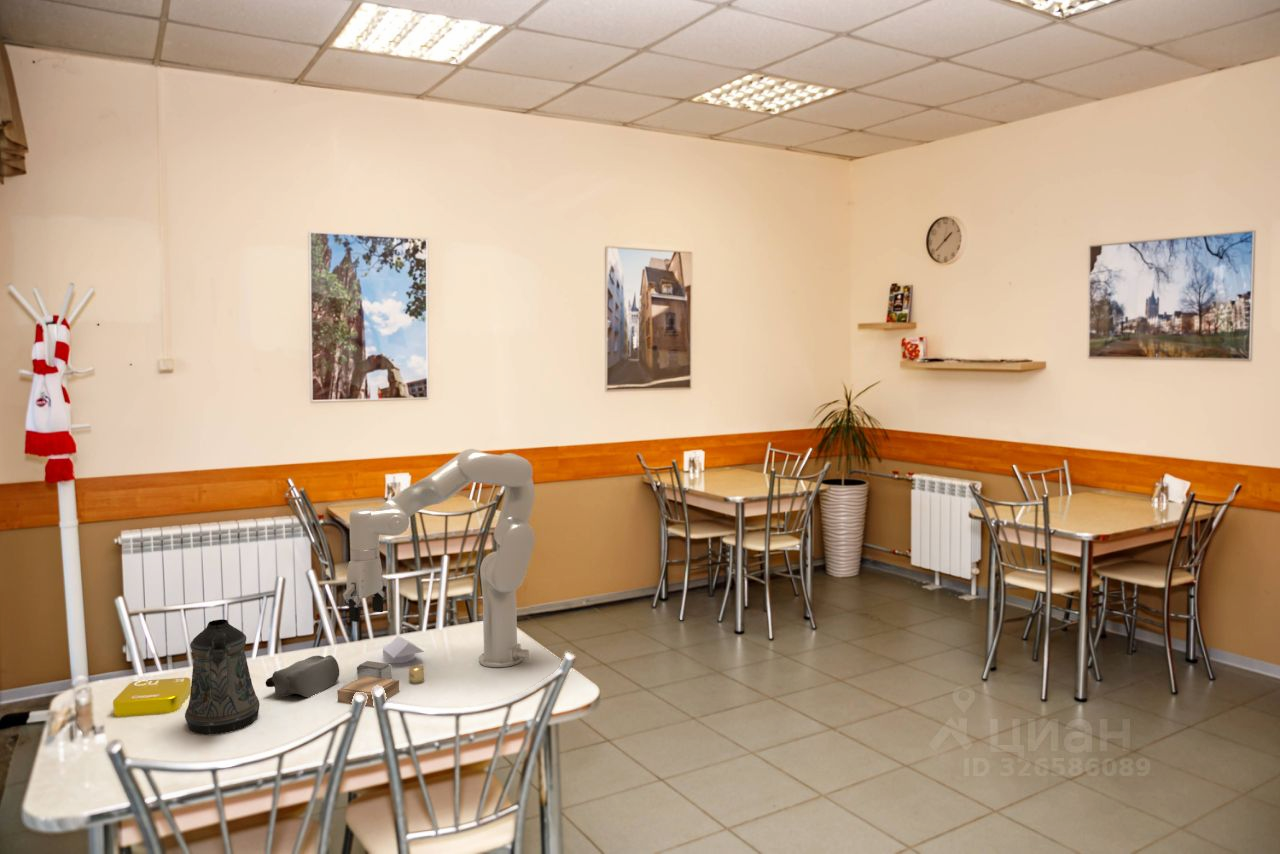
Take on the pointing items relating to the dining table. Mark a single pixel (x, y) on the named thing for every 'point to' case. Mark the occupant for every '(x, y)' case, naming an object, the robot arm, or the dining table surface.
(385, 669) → the block
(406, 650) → the wedge on round base
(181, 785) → the dining table surface
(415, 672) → the bushing
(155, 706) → the element tile
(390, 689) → the stand
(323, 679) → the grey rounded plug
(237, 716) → the ornate dark jug
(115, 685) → the dining table surface
